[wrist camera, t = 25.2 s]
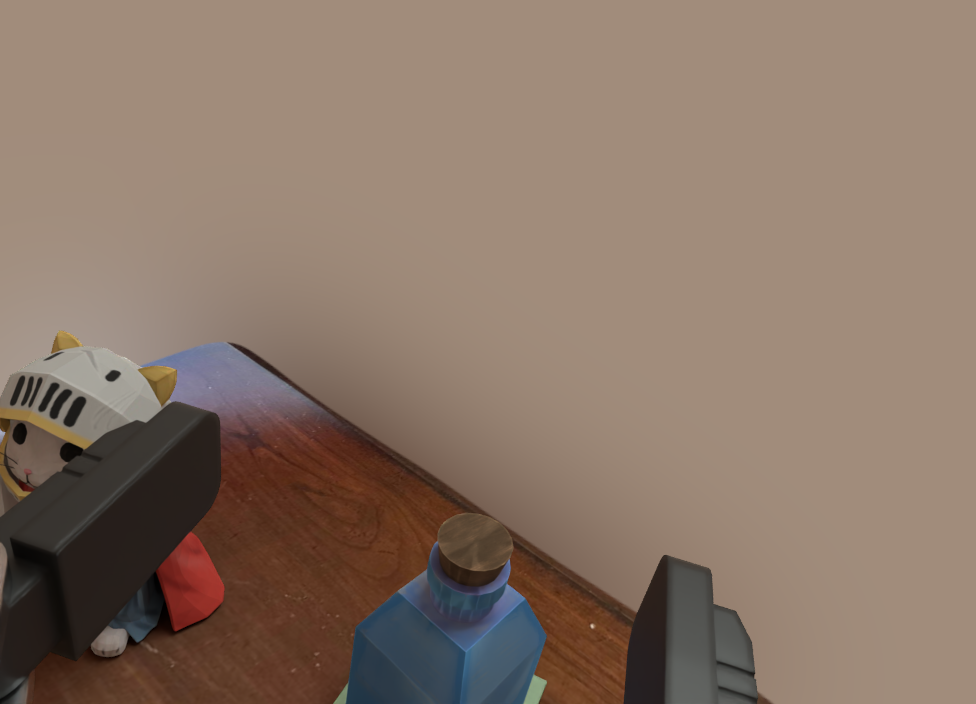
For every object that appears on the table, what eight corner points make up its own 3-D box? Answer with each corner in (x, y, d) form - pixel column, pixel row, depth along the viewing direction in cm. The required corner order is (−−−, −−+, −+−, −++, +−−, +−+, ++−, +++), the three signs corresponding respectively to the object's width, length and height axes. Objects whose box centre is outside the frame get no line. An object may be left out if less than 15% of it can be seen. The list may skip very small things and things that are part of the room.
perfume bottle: (435, 805, 31) (483, 632, 25) (344, 709, 34) (368, 533, 28) (519, 714, 36) (577, 547, 30) (432, 635, 39) (469, 469, 33)
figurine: (-94, 598, 36) (-183, 346, 28) (112, 481, 45) (86, 267, 37) (76, 748, 31) (25, 497, 23) (266, 584, 40) (273, 365, 33)
